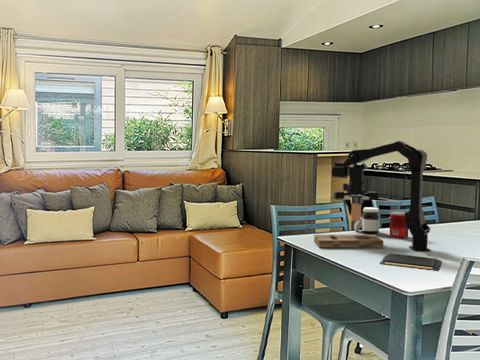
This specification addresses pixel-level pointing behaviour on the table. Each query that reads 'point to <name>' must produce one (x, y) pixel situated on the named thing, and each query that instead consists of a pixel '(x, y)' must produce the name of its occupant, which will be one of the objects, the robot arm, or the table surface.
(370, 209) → the spread jar
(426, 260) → the dark grey flat slab
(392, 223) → the canned food
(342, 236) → the bore block
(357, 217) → the square peg
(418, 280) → the table surface
